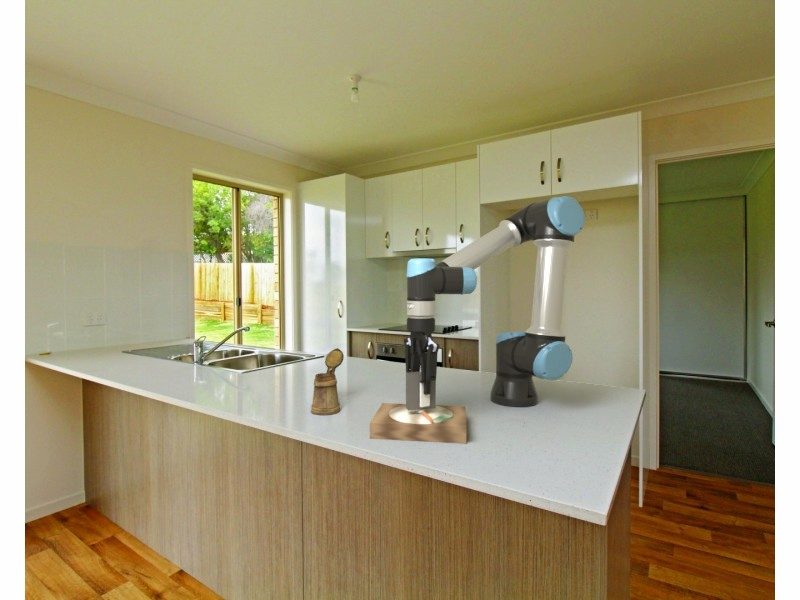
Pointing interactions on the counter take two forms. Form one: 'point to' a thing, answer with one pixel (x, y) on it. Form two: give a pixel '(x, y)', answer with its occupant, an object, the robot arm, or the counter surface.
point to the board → (419, 424)
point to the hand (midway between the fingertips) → (420, 404)
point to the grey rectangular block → (418, 394)
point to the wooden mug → (327, 386)
